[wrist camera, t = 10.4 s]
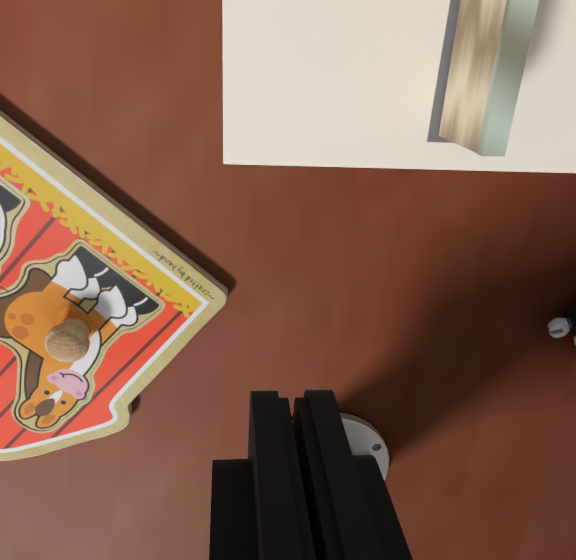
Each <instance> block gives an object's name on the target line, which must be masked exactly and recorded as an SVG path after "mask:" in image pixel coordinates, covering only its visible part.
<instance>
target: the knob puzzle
mask: <svg viewBox="0 0 576 560" xmlns="http://www.w3.org/2000/svg"><path fill="white" fill-rule="evenodd" d="M227 295H228V288H227V287H226V286H224V285H223V284H222V283H220V282H219V281H218V280H217V279H215V278H214V277H213V276H212V275H210V274H209V273H208V272H207V271H205V270H204V269H203V268H201V267H200V266H199V265H198V264H196V263H195V262H194V261H193V260H191V259H190V258H189V257H187V256H186V255H185V254H184V253H182V252H181V251H180V250H178V249H177V248H176V247H175V246H173V245H172V244H171V243H170V242H168V241H167V240H166V239H164V238H163V237H162V236H161V235H159V234H158V233H157V232H155V231H154V230H153V229H152V228H150V227H149V226H148V225H146V224H145V223H144V222H143V221H141V220H140V219H139V218H138V217H136V216H135V215H134V214H133V213H131V212H130V211H129V210H127V209H126V208H125V207H124V206H122V205H121V204H120V203H119V202H117V201H116V200H115V199H114V198H112V197H111V196H110V195H108V194H107V193H106V192H105V191H103V190H102V189H101V188H99V187H98V186H97V185H96V184H94V183H93V182H92V181H90V180H89V179H88V178H87V177H85V176H84V175H83V174H82V173H80V172H79V171H78V170H76V169H75V168H74V167H73V166H71V165H70V164H69V163H68V162H66V161H65V160H64V159H62V158H61V157H60V156H59V155H57V154H56V153H55V152H54V151H52V150H51V149H50V148H48V147H47V146H46V145H45V144H43V143H42V142H41V141H40V140H38V139H37V138H36V137H34V136H33V135H32V134H31V133H29V132H28V131H27V130H25V129H24V128H23V127H22V126H20V125H19V124H18V123H17V122H15V121H14V120H13V119H11V118H10V117H9V116H8V115H6V114H5V113H4V112H3V111H1V110H0V461H7V460H16V459H23V458H28V457H33V456H37V455H41V454H44V453H48V452H51V451H54V450H58V449H61V448H64V447H68V446H71V445H74V444H78V443H82V442H85V441H89V440H93V439H97V438H100V437H104V436H107V435H110V434H113V433H115V432H118V431H120V430H122V429H123V428H125V427H126V426H127V425H128V423H129V420H130V416H131V411H132V403H131V402H132V401H133V400H134V398H135V397H136V396H137V395H138V394H139V393H140V392H141V391H142V390H143V389H144V388H145V387H146V386H147V385H148V384H149V383H150V382H151V381H152V380H153V379H154V378H155V377H156V376H157V375H158V374H159V373H160V372H161V370H162V369H163V368H164V367H165V366H166V365H167V364H168V363H169V362H170V361H171V360H172V359H173V358H174V357H175V356H176V355H177V353H178V352H179V351H180V350H181V349H182V348H183V347H184V346H185V345H186V344H187V343H188V342H189V340H190V339H191V338H192V337H193V336H194V335H195V334H196V333H197V332H198V331H199V330H200V329H201V328H202V327H203V326H204V325H205V324H206V323H207V322H208V321H209V320H210V319H211V318H212V317H213V316H214V315H215V314H216V313H217V312H218V311H219V310H220V309H221V308H222V307H223V306H224V304H225V303H226V300H227Z"/></svg>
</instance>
